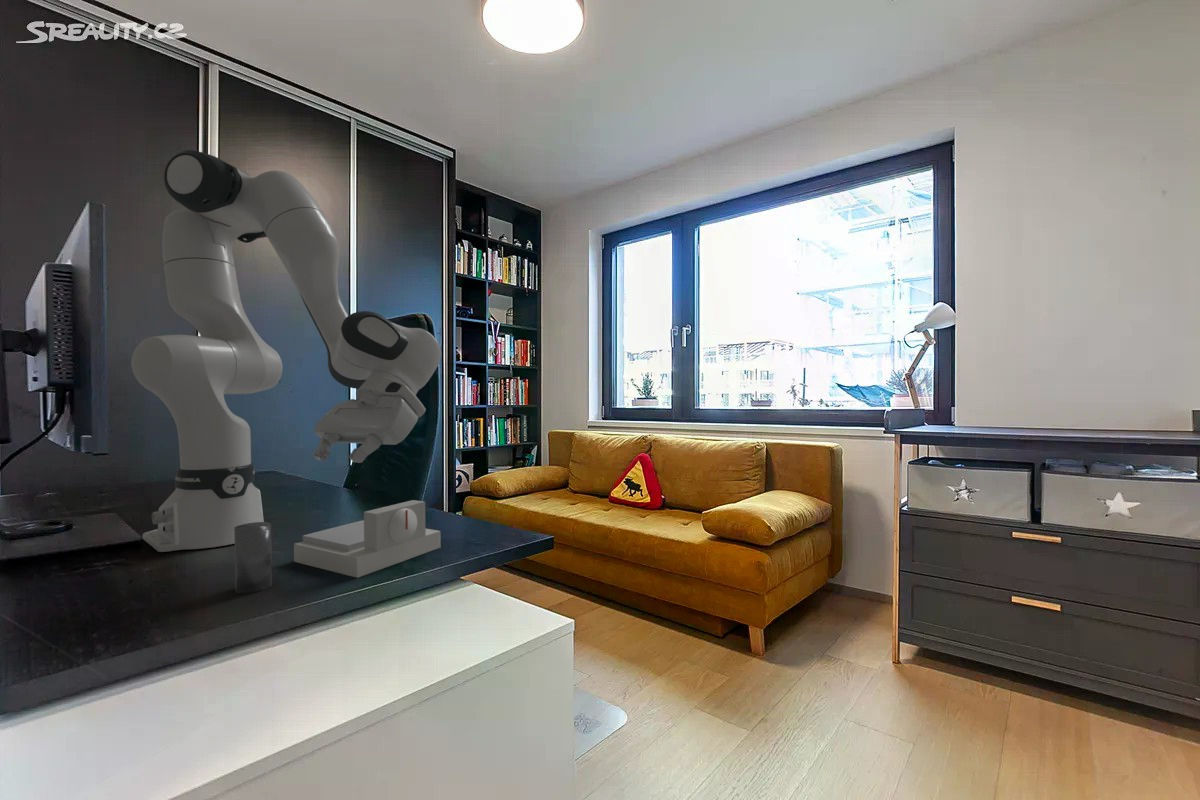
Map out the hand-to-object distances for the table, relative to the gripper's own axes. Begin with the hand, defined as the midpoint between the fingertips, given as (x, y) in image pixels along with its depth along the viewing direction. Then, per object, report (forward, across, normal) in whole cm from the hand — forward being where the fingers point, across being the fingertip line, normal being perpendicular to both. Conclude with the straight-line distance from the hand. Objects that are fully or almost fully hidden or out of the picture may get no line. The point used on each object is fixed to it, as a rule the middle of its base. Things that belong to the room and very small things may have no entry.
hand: (335, 459), depth 86 cm
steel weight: (+21, -1, +3) cm, 21 cm away
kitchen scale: (+8, +1, +16) cm, 18 cm away
